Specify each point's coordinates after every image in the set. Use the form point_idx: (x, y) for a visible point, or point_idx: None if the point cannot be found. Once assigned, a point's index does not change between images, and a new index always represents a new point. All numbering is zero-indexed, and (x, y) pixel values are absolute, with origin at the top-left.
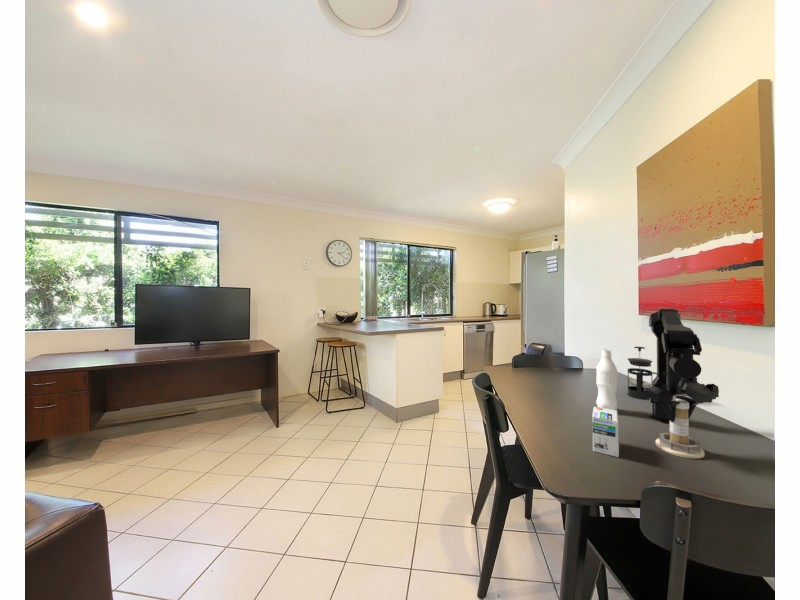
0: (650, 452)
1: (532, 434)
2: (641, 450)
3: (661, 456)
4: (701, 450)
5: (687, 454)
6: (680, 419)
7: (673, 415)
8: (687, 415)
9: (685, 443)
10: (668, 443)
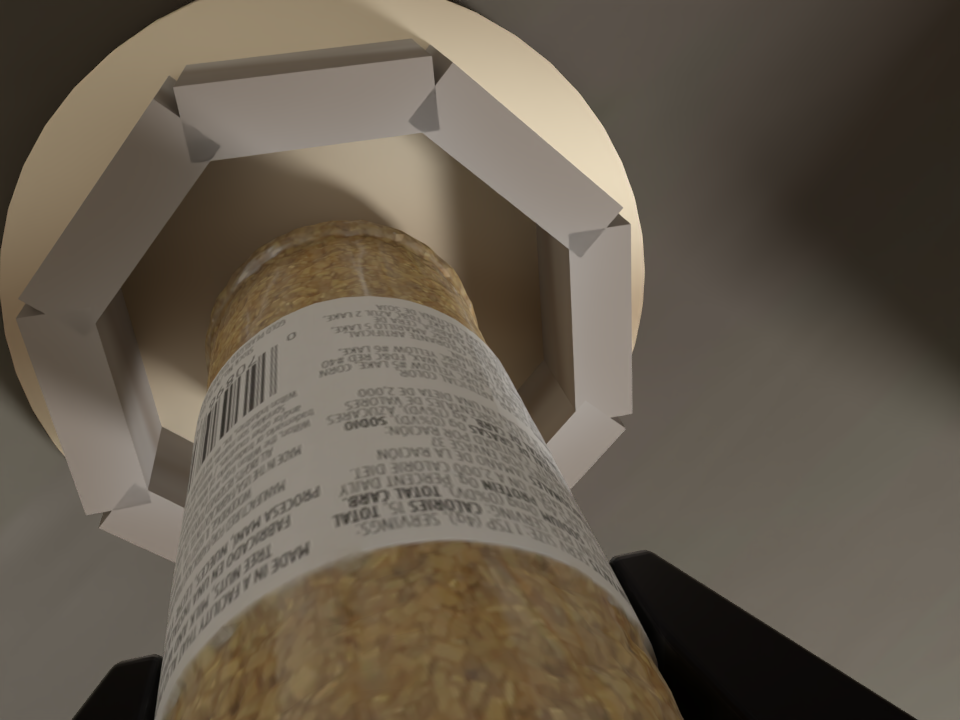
0: (850, 188)
1: None
2: (914, 242)
3: (809, 70)
4: (68, 168)
5: (467, 16)
6: (556, 555)
7: (797, 667)
8: (317, 695)
9: (343, 242)
10: (622, 261)
